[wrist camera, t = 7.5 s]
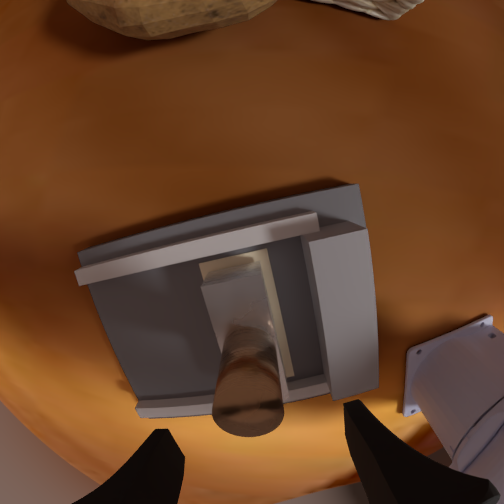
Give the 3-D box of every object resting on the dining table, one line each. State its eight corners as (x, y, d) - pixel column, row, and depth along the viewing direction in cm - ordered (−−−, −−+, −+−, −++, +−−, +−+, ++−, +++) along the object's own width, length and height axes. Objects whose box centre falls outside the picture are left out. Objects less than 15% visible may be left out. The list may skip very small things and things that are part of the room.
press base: (350, 183, 18) (378, 184, 13) (371, 368, 21) (392, 404, 16) (88, 247, 19) (51, 264, 14) (153, 407, 22) (138, 443, 17)
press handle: (259, 260, 17) (264, 319, 9) (286, 375, 18) (299, 462, 11) (208, 272, 17) (176, 336, 10) (241, 383, 19) (237, 471, 11)
